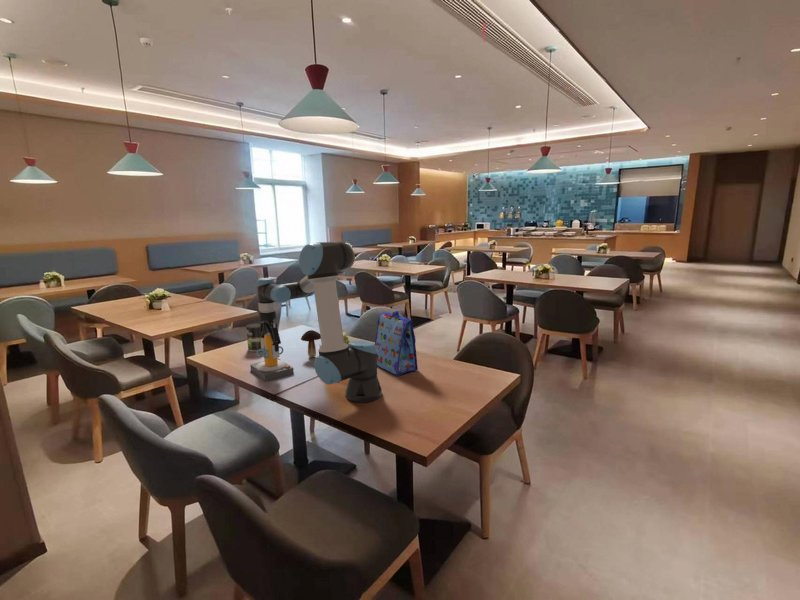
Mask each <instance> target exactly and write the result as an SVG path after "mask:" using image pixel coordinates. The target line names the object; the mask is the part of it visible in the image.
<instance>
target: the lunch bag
mask: <svg viewBox="0 0 800 600" xmlns="http://www.w3.org/2000/svg"><path fill="white" fill-rule="evenodd" d="M376 324H377V325H376V331H375V333H376V334H375V340H374V344H375V345H376V349H377V367H378V368H380V369H381V368H382V369H383V370H385V371H387V372H389V373H391V374H393V375H394V376H396V377H400V376H401V375H403V374H407V372H417V371H418V370H419V367H418V357H417V350H416V349H417V348H416V335H415V330H414V325H413V319H412V318H407V317H404V316H402V315H400V314H399V310H394V311H392V313H390V312H385V311H384V312H383V311H382V312H380V314H379V315H378V319H377V323H376Z"/></svg>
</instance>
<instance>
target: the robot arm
mask: <svg viewBox="0 0 800 600" xmlns="http://www.w3.org/2000/svg"><path fill="white" fill-rule="evenodd" d="M355 259H356V256H355V252H354V250H353V248H352V247H351V246H350V245H349V244H348V243H346V242H343V241H324V242H323V241H322V242H320V241H319V242H313V243H311V242H310V243H308V244H306V245H304V246H303V247H302V249H301V251H300V254H299V258H298V265H299V269H300V270H301V273H302V274H303V275H305V276H304V277H303V278H302V279H300V280H299V281H295V282H290V283H283V284H282V283H281V284H275V281H274V280H275V279H274V278H272V277H262V278H261V277H260V278H258V279H257V280H256V288H257V291H256V292H257V300H258V302H257V303H258V311H259V312H258V313H259V314H258V315H259V323H260V330H259V336H260V337H261V342H262V348H263V349H264V347H265V337H264V335H265V334H269V333H270V336H271V339H272V342H273V344H272V346H273V358H280V355H281V354H280V355H279V353H280V348H279V346H280V345H281V344H282V341H281V338H280V333H279V329H278V325H277V322H274V320H276V319H277V312H276V309H277V307H276V305H277V303H279V304H282V303H283V304H284V303H286V302H288V301H291V300H296V299H300V298H301V299H302V298H308V297H312V296H314V300H315V306H316V307H315V309H316V313H317V315H316V316H317V322H318V327H319V334H320V336H321V339H320V343H321V345H320V347H319V349H318V356H317V357H315V359H314V363H313V365H314V371H315V373H316V375H317V377H318V378H319V379H320V381H321V382H323V383H324V384H326V385H334V384H339V383H340V382H342V381H345V380H348V381H347V385H346V388H345V398H346V399H347V400H349V401H351V402H355V403H369V402H373V401H376V400H378V399H379V398H381V396H382V386H381V384H380V380H379V379H378V366H377V349H376V345H375V342H372V341H368V340H361V339H359V340H358V339H356V340H350V341H349V342H348V343H346V342H345V339H344V331H343V325H342V324H343V323H342V317H341V311H340V304H339V297H338V289H337V283H336V281H337V279H338V278H339V276H340V275H342V274H345V272H347V271H348V270H350V269H351V268H352V267H353V265H354V263H355ZM261 332H262V333H261ZM261 352H264V351H263V350H262V351H261Z"/></svg>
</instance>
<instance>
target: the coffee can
mask: <svg viewBox="0 0 800 600" xmlns="http://www.w3.org/2000/svg"><path fill="white" fill-rule="evenodd" d="M245 327H246V328H245V329H246V337H247V338H246V339H247V351H249V352H254V353H257V351H258V350H259V349H261V348H262V342H261V337H260V336H259V330H260V322H253V323H249V324H246V326H245ZM261 333H262V332H261ZM259 352H263V351H262V350H260V351H259Z"/></svg>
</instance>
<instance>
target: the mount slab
mask: <svg viewBox="0 0 800 600" xmlns="http://www.w3.org/2000/svg"><path fill="white" fill-rule="evenodd" d="M277 360H278V364H277V365H275V366H265V361H259V362H254V363H250V364H249V365H250V371H251V372H252V373H254V374H255V375H256V376H258V377H259V378H260V379H261V380H263V381H264V382H267V381H271V380H276V379H278V378H282V377H286V376H291V375H294V374H295V372H294V367H293V366H291V365H290V364H288V363H287V362H286V361H285V360H282V359H280V357H278V358H277Z"/></svg>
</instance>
